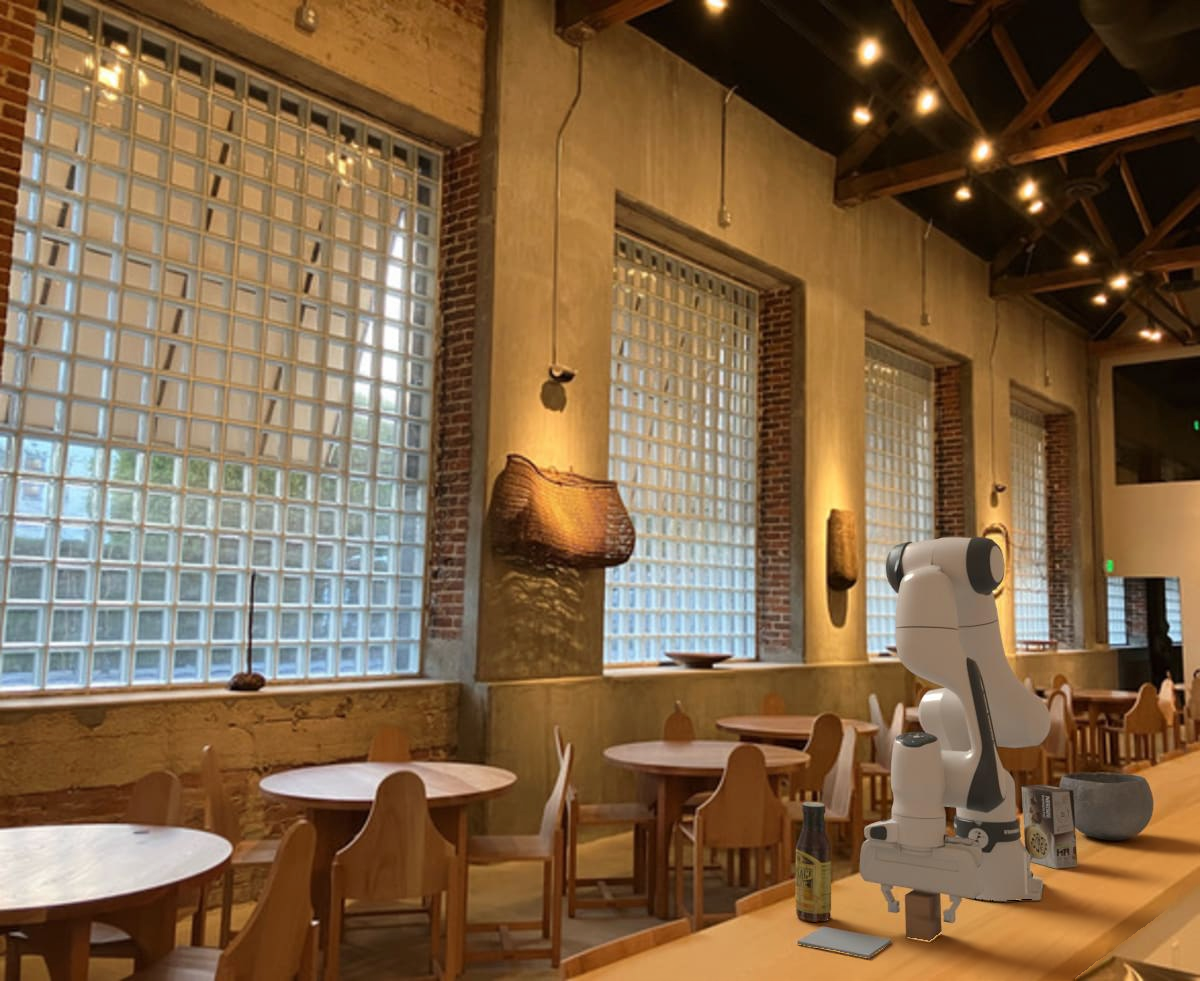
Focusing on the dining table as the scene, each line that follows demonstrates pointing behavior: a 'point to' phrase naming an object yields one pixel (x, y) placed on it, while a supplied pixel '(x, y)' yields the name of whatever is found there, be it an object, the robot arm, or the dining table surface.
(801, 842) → the sauce bottle
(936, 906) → the walnut block
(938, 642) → the robot arm
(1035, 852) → the coffee box
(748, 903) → the dining table surface
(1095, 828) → the bowl
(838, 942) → the mat
